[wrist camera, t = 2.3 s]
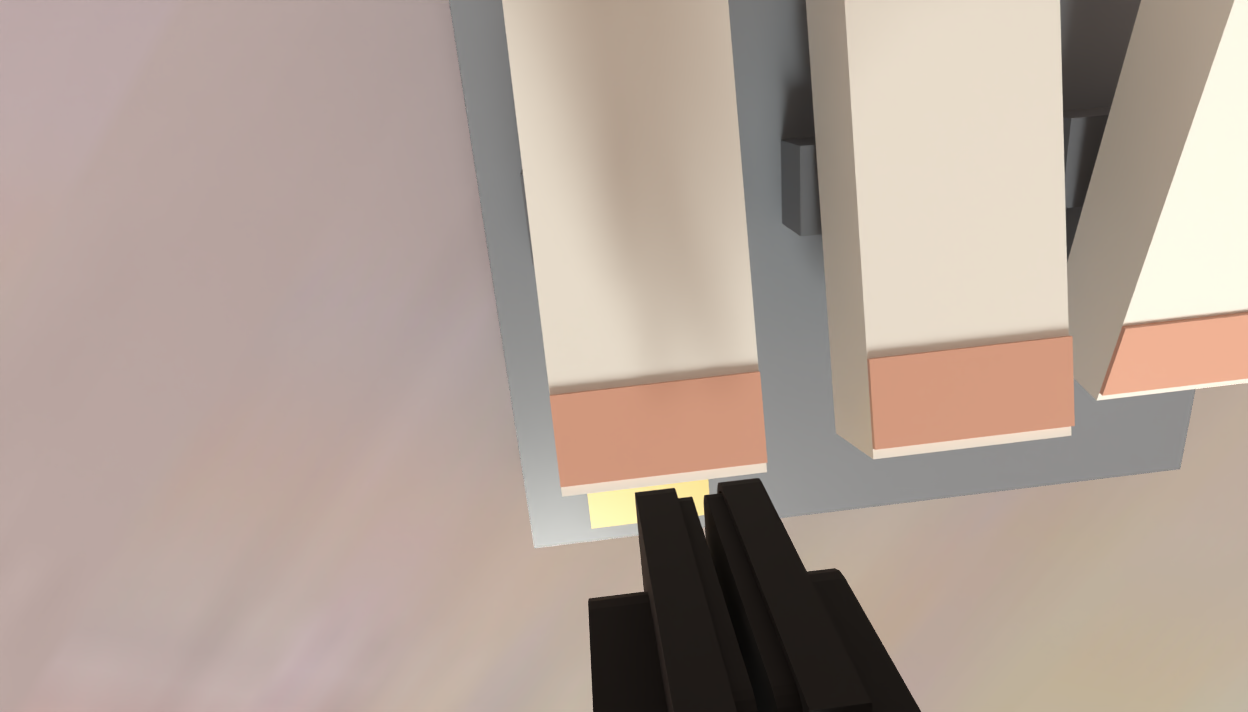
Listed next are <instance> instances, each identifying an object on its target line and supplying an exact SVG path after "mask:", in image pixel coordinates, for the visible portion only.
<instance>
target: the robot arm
mask: <svg viewBox="0 0 1248 712" xmlns="http://www.w3.org/2000/svg"><path fill="white" fill-rule="evenodd" d="M635 503H636V514H637V524H638V534H639V544H640V555H641V565H642V575H643V585H644V592H638V593H630V594H622V595H614V596H606V597H598V598H590V599H589V601H588V606H589V629H590V651H591V673H592V694H593V712H921V711H920V709H919V707H918V705H917V704H916V702H915V700H914V698H913V697H912V695H911V693H910V691H909V690H908V688H907V686H906V684H905V683H904V681H903V679H902V677H901V676H900V674H899V672H898V670H897V669H896V667H895V665H894V663H893V662H892V660H891V658H890V656H889V655H888V653H887V651H886V649H885V648H884V646H883V644H882V642H881V641H880V639H879V637H878V635H877V634H876V632H875V630H874V628H873V626H872V625H871V623H870V621H869V619H868V618H867V616H866V614H865V612H864V611H863V609H862V607H861V605H860V604H859V602H858V600H857V598H856V597H855V595H854V593H853V591H852V590H851V588H850V586H849V584H848V583H847V581H846V579H845V578H844V576H843V575H842V573H841V572H840V571H839V570H837V569H835V568H834V569H825V570H817V571H809V572H807V571H806V569H805V567H804V565H803V563H802V561H801V559H800V557H799V555H798V553H797V551H796V549H795V547H794V545H793V543H792V541H791V539H790V537H789V535H788V533H787V531H786V529H785V527H784V525H783V523H782V521H781V519H780V517H779V515H778V513H777V511H776V509H775V507H774V505H773V503H772V501H771V499H770V497H769V495H768V493H767V491H766V489H765V487H764V485H763V483H762V481H761V480H760V478H753V479H744V480H736V481H727V482H719V483H718V485H717V494H709V495H704V518H705V534H706V539H705V535H704V532H703V529H702V526H701V522H700V519H699V516H698V513H697V510H696V506H695V503H694V500H693V497H684V498H678V496H677V492H676V489H675V488H668V489H659V490H651V491H643V492H635Z"/></svg>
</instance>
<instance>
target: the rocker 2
mask: <svg viewBox="0 0 1248 712" xmlns="http://www.w3.org/2000/svg"><path fill="white" fill-rule="evenodd" d="M806 11H807V25H808V40H809V54H810V69H811V83H812V97H813V112H814V126H815V141H816V155H817V169H818V184H819V198H820V213H821V227H822V241H823V256H824V270H825V285H826V299H827V313H828V328H829V342H830V357H831V371H832V385H833V400H834V414H835V429H836V434H838V435H839V436H841V437H842V438H843V439H845V440H846V441H848V442H849V443H851V444H852V445H853V446H855V447H856V448H858V449H859V450H861V451H862V452H864V453H865V454H866V455H868V456H869V457H871V458H872V459H881V458H889V457H898V456H906V455H914V454H923V453H931V452H939V451H948V450H956V449H964V448H973V447H981V446H989V445H998V444H1006V443H1014V442H1023V441H1031V440H1039V439H1048V438H1056V437H1064V436H1071V426H1075V415H1074V376H1073V337H1072V336H1069V323H1068V286H1067V248H1066V210H1065V172H1064V134H1063V96H1062V58H1061V20H1060V0H806Z"/></svg>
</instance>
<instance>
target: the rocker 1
mask: <svg viewBox="0 0 1248 712" xmlns="http://www.w3.org/2000/svg"><path fill="white" fill-rule="evenodd" d="M502 4H503V12H504V21H505V29H506V37H507V45H508V54H509V62H510V70H511V79H512V87H513V95H514V103H515V112H516V120H517V128H518V136H519V145H520V153H521V161H522V170H523V178H524V186H525V194H526V203H527V211H528V219H529V228H530V236H531V244H532V252H533V261H534V269H535V277H536V285H537V294H538V302H539V310H540V319H541V327H542V335H543V343H544V352H545V360H546V368H547V376H548V385H549V393H550V404H551V413H552V421H553V429H554V437H555V446H556V454H557V462H558V470H559V479H560V487H561V492H562V497H564V496H573V495H581V494H589V493H598V492H606V491H614V490H623V489H631V488H639V487H648V486H656V485H664V484H673V483H681V482H689V481H698V480H706V479H714V478H723V477H731V476H739V475H748V474H756V473H764V472H767V465H766V463H768V462H767V450H766V437H765V425H764V413H763V401H762V389H761V377H760V372H759V368H758V356H757V344H756V332H755V320H754V307H753V295H752V283H751V271H750V259H749V247H748V235H747V223H746V211H745V198H744V186H743V174H742V162H741V150H740V138H739V126H738V114H737V102H736V89H735V77H734V65H733V53H732V41H731V29H730V17H729V5H728V0H502Z"/></svg>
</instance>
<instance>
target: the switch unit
mask: <svg viewBox="0 0 1248 712" xmlns="http://www.w3.org/2000/svg"><path fill="white" fill-rule="evenodd" d="M1140 2H1141V0H1060V20H1061V58H1062V96H1063V134H1064V172H1065V210H1066V248H1067V262H1068V258H1069V254H1070V251H1071V247H1072V244H1073V240H1074V237H1075V233H1076V230H1077V226H1078V222H1079V219H1080V215H1081V212H1082V208H1083V205H1084V201H1085V198H1086V194H1087V191H1088V187H1089V183H1090V180H1091V176H1092V173H1093V169H1094V166H1095V162H1096V159H1097V155H1098V152H1099V148H1100V144H1101V141H1102V137H1103V134H1104V130H1105V127H1106V123H1107V120H1108V116H1109V112H1110V109H1111V105H1112V102H1113V98H1114V95H1115V91H1116V88H1117V84H1118V81H1119V77H1120V73H1121V70H1122V66H1123V63H1124V59H1125V56H1126V52H1127V49H1128V45H1129V42H1130V38H1131V34H1132V31H1133V27H1134V24H1135V20H1136V17H1137V13H1138V10H1139V6H1140ZM449 4H450V10H451V16H452V23H453V29H454V36H455V42H456V49H457V55H458V61H459V68H460V74H461V81H462V87H463V94H464V100H465V106H466V113H467V119H468V126H469V132H470V138H471V145H472V151H473V158H474V164H475V171H476V177H477V183H478V190H479V196H480V203H481V209H482V216H483V222H484V228H485V235H486V241H487V248H488V254H489V260H490V267H491V273H492V280H493V286H494V293H495V299H496V305H497V312H498V318H499V325H500V331H501V338H502V344H503V350H504V357H505V363H506V370H507V376H508V382H509V389H510V395H511V402H512V408H513V415H514V421H515V427H516V434H517V440H518V447H519V453H520V460H521V466H522V472H523V479H524V485H525V492H526V498H527V504H528V511H529V517H530V524H531V530H532V537H533V543H534V548H541V547H549V546H557V545H565V544H573V543H582V542H590V541H598V540H606V539H614V538H622V537H630V536H639V534H638V524H637V514H636V503H635V492H643V491H651V490H659V489H668V488H675V489H676V492H677V496H678V498H684V497H693V500H694V503H695V506H696V510H697V513H698V516H699V519H700V522H701V526H702V528H704V527H705V518H704V495H709V494H717V485H718V483H719V482H727V481H736V480H744V479H753V478H760V480H761V481H762V483H763V485H764V487H765V489H766V491H767V493H768V495H769V497H770V499H771V501H772V503H773V505H774V507H775V509H776V511H777V513H778V515H779V517H780V518H785V517H793V516H802V515H810V514H818V513H826V512H834V511H842V510H850V509H859V508H867V507H875V506H883V505H891V504H899V503H907V502H916V501H924V500H932V499H940V498H948V497H956V496H965V495H973V494H981V493H989V492H997V491H1005V490H1013V489H1022V488H1030V487H1038V486H1046V485H1054V484H1062V483H1070V482H1079V481H1087V480H1095V479H1103V478H1111V477H1119V476H1127V475H1136V474H1144V473H1152V472H1160V471H1168V470H1176V469H1180V467H1181V462H1182V457H1183V452H1184V446H1185V441H1186V436H1187V431H1188V426H1189V420H1190V415H1191V410H1192V405H1193V399H1194V394H1195V389H1191V390H1182V391H1174V392H1165V393H1157V394H1148V395H1140V396H1131V397H1123V398H1114V399H1106V400H1098V401H1097V400H1096V399H1095V398H1094V397H1093V396H1092V395H1091V394H1089V393H1088V392H1087V391H1086V390H1085V389H1084V388H1083V387H1082V386H1081V385H1080V384H1079V383H1078V382H1077V381H1076V380H1075V379H1074V415H1075V426H1071V436H1064V437H1056V438H1048V439H1039V440H1031V441H1023V442H1014V443H1006V444H998V445H989V446H981V447H973V448H964V449H956V450H948V451H939V452H931V453H923V454H914V455H906V456H898V457H889V458H881V459H872V458H871V457H869V456H868V455H866V454H865V453H864V452H862V451H861V450H859V449H858V448H856V447H855V446H853V445H852V444H851V443H849V442H848V441H846V440H845V439H843V438H842V437H841V436H839V435H838V434H836V429H835V414H834V400H833V385H832V371H831V357H830V342H829V328H828V313H827V299H826V285H825V270H824V256H823V241H822V227H821V213H820V198H819V184H818V169H817V155H816V141H815V126H814V112H813V97H812V83H811V69H810V54H809V40H808V25H807V11H806V0H728V5H729V17H730V29H731V41H732V53H733V65H734V77H735V89H736V102H737V114H738V126H739V138H740V150H741V162H742V174H743V186H744V198H745V211H746V223H747V235H748V247H749V259H750V271H751V283H752V295H753V307H754V320H755V332H756V344H757V356H758V368H759V372H760V377H761V389H762V401H763V413H764V425H765V437H766V450H767V462H768V463H766V465H767V472H764V473H756V474H748V475H739V476H731V477H723V478H714V479H706V480H698V481H689V482H681V483H673V484H664V485H656V486H648V487H639V488H631V489H623V490H614V491H606V492H598V493H589V494H581V495H573V496H564V497H562V492H561V487H560V479H559V470H558V462H557V454H556V446H555V437H554V429H553V421H552V413H551V404H550V393H549V385H548V376H547V368H546V360H545V352H544V343H543V335H542V327H541V319H540V310H539V302H538V294H537V285H536V277H535V269H534V261H533V252H532V244H531V236H530V228H529V219H528V211H527V203H526V194H525V186H524V178H523V170H522V161H521V153H520V145H519V136H518V128H517V120H516V112H515V103H514V95H513V87H512V79H511V70H510V62H509V54H508V45H507V37H506V29H505V21H504V12H503V4H502V0H449Z"/></svg>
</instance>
